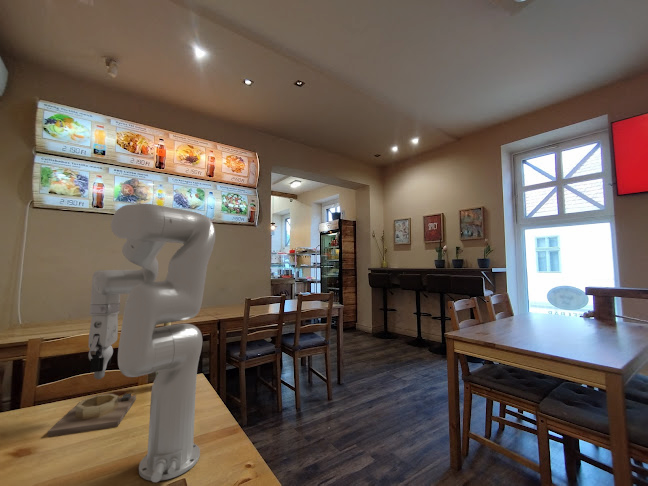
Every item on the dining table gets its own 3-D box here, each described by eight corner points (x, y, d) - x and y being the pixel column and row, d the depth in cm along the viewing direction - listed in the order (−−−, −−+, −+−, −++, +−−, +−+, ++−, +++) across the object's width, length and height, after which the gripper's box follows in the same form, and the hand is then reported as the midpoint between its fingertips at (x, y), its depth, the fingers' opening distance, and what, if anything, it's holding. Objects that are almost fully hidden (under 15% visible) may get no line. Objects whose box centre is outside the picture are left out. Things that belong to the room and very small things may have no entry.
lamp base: (117, 426, 82) (118, 416, 83) (47, 436, 77) (48, 426, 78) (135, 399, 99) (136, 391, 100) (79, 406, 94) (79, 398, 94)
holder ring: (110, 415, 86) (110, 405, 86) (70, 421, 82) (71, 410, 83) (121, 401, 95) (121, 392, 95) (85, 406, 91) (86, 396, 92)
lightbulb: (97, 383, 86) (100, 346, 87) (81, 382, 87) (83, 344, 88) (116, 376, 92) (118, 341, 93) (100, 374, 93) (103, 339, 94)
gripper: (108, 312, 84) (104, 376, 83) (127, 305, 101) (123, 358, 99) (77, 313, 82) (72, 379, 80) (101, 306, 98) (97, 360, 97)
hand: (100, 367), depth 90 cm, fingers closed on lightbulb, 5 cm apart
